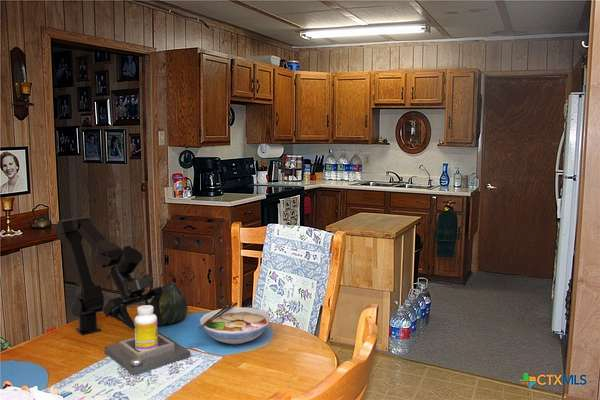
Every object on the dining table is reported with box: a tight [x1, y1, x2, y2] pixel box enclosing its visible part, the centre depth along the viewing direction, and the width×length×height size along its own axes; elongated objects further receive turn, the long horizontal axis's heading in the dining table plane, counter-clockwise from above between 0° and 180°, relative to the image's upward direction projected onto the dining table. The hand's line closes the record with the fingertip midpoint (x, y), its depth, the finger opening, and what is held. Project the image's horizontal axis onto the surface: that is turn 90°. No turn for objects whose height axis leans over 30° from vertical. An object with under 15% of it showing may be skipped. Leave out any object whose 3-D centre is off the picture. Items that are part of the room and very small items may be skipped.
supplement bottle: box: [133, 304, 158, 352], centre depth 160 cm, size 7×7×13 cm
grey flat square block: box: [104, 332, 191, 376], centre depth 161 cm, size 20×18×4 cm
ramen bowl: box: [198, 301, 272, 346], centre depth 172 cm, size 25×23×8 cm
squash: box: [144, 282, 189, 327], centre depth 188 cm, size 14×15×15 cm
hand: (147, 324), depth 159 cm, fingers open, 9 cm apart
